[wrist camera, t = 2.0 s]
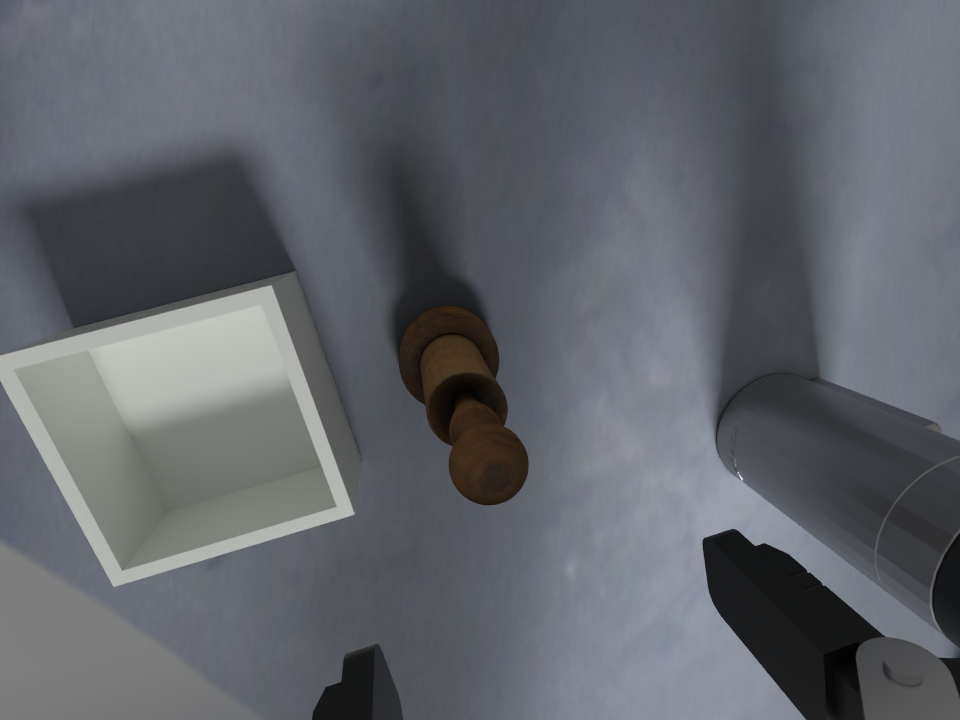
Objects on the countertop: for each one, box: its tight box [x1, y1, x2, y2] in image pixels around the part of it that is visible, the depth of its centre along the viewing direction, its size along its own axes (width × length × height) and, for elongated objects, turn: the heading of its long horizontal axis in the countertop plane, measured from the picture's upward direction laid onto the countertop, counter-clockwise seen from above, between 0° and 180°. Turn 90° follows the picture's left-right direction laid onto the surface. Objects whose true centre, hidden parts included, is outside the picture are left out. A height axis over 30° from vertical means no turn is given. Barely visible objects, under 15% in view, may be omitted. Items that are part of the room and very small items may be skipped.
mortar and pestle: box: [399, 306, 528, 505], centre depth 27 cm, size 7×6×18 cm
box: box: [0, 271, 362, 587], centre depth 31 cm, size 14×14×7 cm
